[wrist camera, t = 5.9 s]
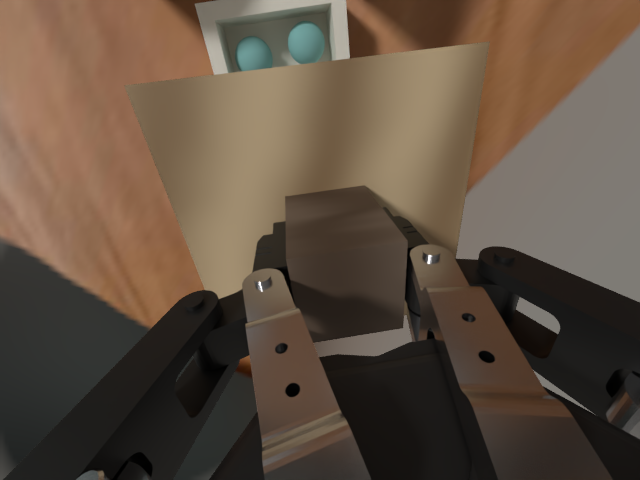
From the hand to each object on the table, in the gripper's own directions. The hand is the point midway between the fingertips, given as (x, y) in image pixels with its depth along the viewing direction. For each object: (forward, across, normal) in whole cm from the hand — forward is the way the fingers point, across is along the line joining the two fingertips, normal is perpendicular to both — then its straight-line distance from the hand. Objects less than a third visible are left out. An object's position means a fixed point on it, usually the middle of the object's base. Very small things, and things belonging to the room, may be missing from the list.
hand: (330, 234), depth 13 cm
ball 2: (+21, -2, -9) cm, 23 cm away
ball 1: (+21, +4, -8) cm, 23 cm away
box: (+23, +1, -6) cm, 24 cm away
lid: (+2, 0, 0) cm, 2 cm away
